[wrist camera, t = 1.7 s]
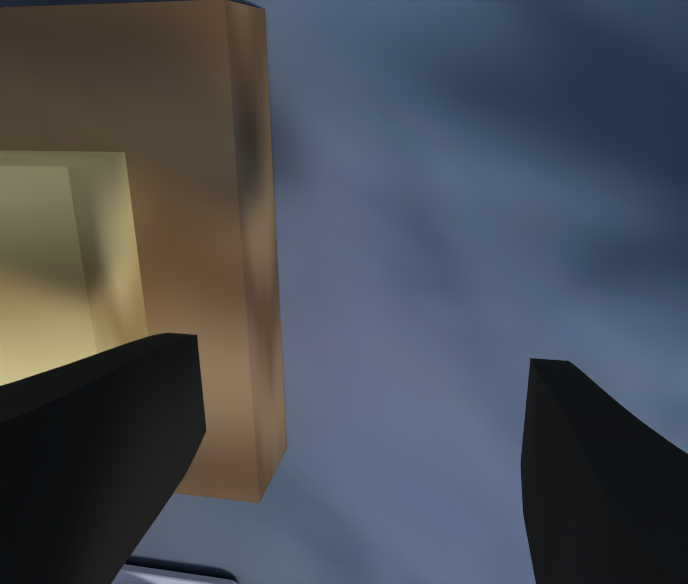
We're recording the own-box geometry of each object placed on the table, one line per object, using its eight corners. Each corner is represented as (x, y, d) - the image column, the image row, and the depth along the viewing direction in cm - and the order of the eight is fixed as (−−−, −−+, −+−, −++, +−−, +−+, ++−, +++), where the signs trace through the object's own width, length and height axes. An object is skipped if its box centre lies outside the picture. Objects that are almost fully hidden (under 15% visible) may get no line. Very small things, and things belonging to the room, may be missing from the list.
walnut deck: (286, 447, 22) (259, 503, 19) (-61, 412, 25) (-128, 456, 22) (264, 9, 17) (224, -1, 15) (-162, 22, 20) (-264, 16, 17)
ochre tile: (155, 393, 19) (110, 439, 16) (5, 379, 20) (-57, 421, 17) (124, 151, 16) (66, 166, 14) (-44, 149, 17) (-124, 162, 15)
